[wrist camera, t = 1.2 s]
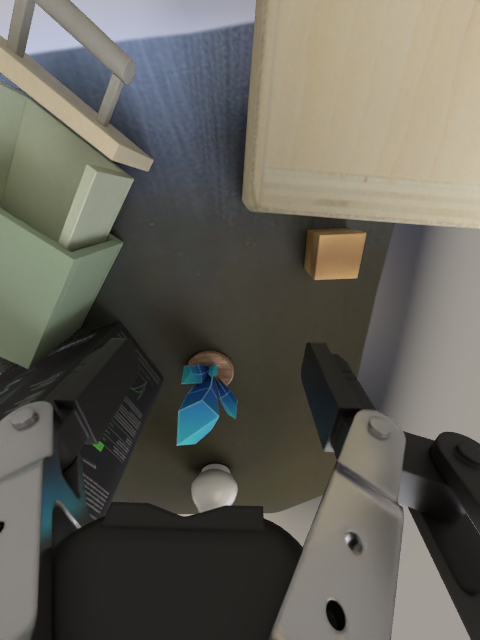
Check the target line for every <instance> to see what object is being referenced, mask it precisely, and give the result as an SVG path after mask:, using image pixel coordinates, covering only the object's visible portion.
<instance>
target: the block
mask: <svg viewBox="0 0 480 640" xmlns="http://www.w3.org/2000/svg"><path fill="white" fill-rule="evenodd" d="M365 238H366V233H365V232H361V231H357V230H353V229H349V228H336V229H315V230H308V231H307V242H306V252H305V263H304V269H305V270H306V271H307V272H308V273H309V274H310V276H311V277H312V278H313V279H314V280H324V279H348V278H357V276H358V271H359V267H360V262H361V257H362V252H363V248H364V243H365Z"/></svg>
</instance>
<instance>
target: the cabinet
mask: <svg viewBox="0 0 480 640" xmlns="http://www.w3.org/2000/svg"><path fill="white" fill-rule="evenodd" d="M122 245H123V242H122V241H121V240H119V239H118V238H116V237H115V236H113V235H112V234H110V233H109V235H108V237H107V239H106V241H105V242H104V243H100V244H97V245H93V246H90V247H87V248H83V249H80V250H76V251H73V252H70V251H69V250H67V249H65V248H64V247H62V246H61V245H59V244H58V243H56V242H54V241H53V240H51V239H50V238H48V237H46V236H45V235H43V234H42V233H40V232H38V231H37V230H35V229H34V228H32V227H30V226H29V225H27V224H26V223H24V222H23V221H21V220H19V219H18V218H16V217H15V216H13V215H11V214H10V213H8V212H7V211H5V210H3V209H2V208H0V357H2V358H4V359H7V360H9V361H11V362H13V363H15V364H18V365H20V366H22V367H24V368H26V369H29V368H31V367H32V366H33V365H34V364H36V363H37V362H38V361H39V360H41V359H42V358H43V357H44V356H46V355H47V354H48V353H50V352H51V351H52V350H53V349H55V348H56V347H57V346H59V345H60V344H61V343H62V342H64V341H65V340H66V339H67V338H69V337H70V336H71V335H73V334H74V333H75V332H76V331H78V330H79V329H80V328H81V326H82V324H83V322H84V320H85V318H86V316H87V314H88V312H89V310H90V309H91V307H92V305H93V303H94V301H95V299H96V297H97V295H98V293H99V291H100V289H101V287H102V285H103V283H104V281H105V279H106V277H107V275H108V273H109V271H110V269H111V267H112V265H113V263H114V261H115V259H116V257H117V255H118V253H119V251H120V249H121V247H122Z"/></svg>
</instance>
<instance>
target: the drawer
mask: <svg viewBox="0 0 480 640" xmlns="http://www.w3.org/2000/svg"><path fill="white" fill-rule="evenodd" d="M35 3H37V4H38V5H39V6H40V7H41V8H42V9H43V10H44V11H45V12H46V13H48V14H49V15H50V16H51V17H52V18H53V19H54V20H55V21H56V22H58V23H59V24H60V25H61V26H62V27H63V28H64V29H65V30H66V31H67V32H69V33H70V34H71V35H72V36H73V37H74V38H75V39H76V40H77V41H79V42H80V43H81V44H82V45H83V46H84V47H85V48H86V49H87V50H88V51H89V52H91V53H92V54H93V55H94V56H95V57H96V58H97V59H98V60H99V61H100V62H102V63H103V64H104V65H105V66H106V67H107V68H108V69H109V70H110V71H111V72H113V73H112V76H111V79H110V81H109V84H108V87H107V90H106V93H105V95H104V98H103V101H102V104H101V107H100V109H99V112H98V113H97V112H96V111H94V110H93V109H92V108H91V107H90V106H88V105H87V104H86V103H85V102H84V101H82V100H81V99H80V98H79V97H78V96H76V95H75V94H74V93H73V92H72V91H70V90H69V89H68V88H67V87H66V86H64V85H63V84H62V83H61V82H60V81H58V80H57V79H56V78H55V77H54V76H52V75H51V74H50V73H49V72H48V71H47V70H45V69H44V68H43V67H42V66H41V65H39V64H38V63H37V62H36V61H35V60H33V59H32V58H31V57H30V56H29V55H27V54H26V53H25V48H26V44H27V39H28V34H29V29H30V25H31V20H32V16H33V11H34V7H35ZM0 73H2V74H3V75H4V76H5V77H7V78H8V79H9V80H10V81H12V82H13V83H14V84H15V85H17V86H18V87H19V88H21V89H22V90H23V91H24V92H26V93H27V94H28V95H29V96H31V97H32V98H33V99H35V100H36V101H37V102H38V103H40V104H41V105H42V106H43V107H45V108H46V109H47V110H48V111H50V112H51V113H52V114H54V115H55V116H56V117H57V118H59V119H60V120H61V121H62V122H64V123H65V124H66V125H68V126H69V127H70V128H71V129H73V130H74V131H75V132H76V133H78V134H79V135H80V136H81V137H83V138H84V139H85V140H87V141H88V142H89V143H90V144H92V145H93V146H94V147H95V148H97V149H98V150H99V151H101V152H102V153H103V154H104V155H106V156H107V157H108V158H109V159H111V160H112V161H115V162H119V163H122V164H125V165H128V166H131V167H134V168H137V169H141V170H144V171H147V172H148V171H149V169H150V167H151V165H152V163H153V161H154V160H153V159H152V158H151V157H149V156H148V155H147V154H146V153H145V152H143V151H142V150H141V149H140V148H139V147H137V146H136V145H135V144H134V143H133V142H131V141H130V140H129V139H128V138H127V137H125V136H124V135H123V134H122V133H121V132H120V131H118V130H117V129H116V128H115V127H114V126H112V125H111V124H110V123H109V122H110V119H111V117H112V114H113V111H114V109H115V106H116V103H117V101H118V98H119V96H120V93H121V90H122V88H123V85H124V83H125V84H130V83H131V82H132V80H133V78H134V75H135V63H134V61H133V60H132V59H131V58H130V57H129V56H128V55H127V54H126V53H125V52H124V51H123V50H122V49H120V48H119V47H118V46H117V45H116V44H115V43H114V42H113V41H112V40H111V39H110V38H109V37H108V36H107V35H106V34H105V33H104V32H103V31H101V30H100V29H99V28H98V27H97V26H96V25H95V24H94V23H93V22H92V21H91V20H90V19H89V18H88V17H87V16H86V15H85V14H84V13H83V12H81V11H80V10H79V9H78V8H77V7H76V6H75V5H74V4H73V3H72V2H71V1H70V0H15V4H14V9H13V14H12V19H11V25H10V30H9V35H8V41H7V40H5V39H4V38H3V37H1V36H0ZM122 81H123V82H124V83H123V82H122ZM27 94H25V93H23V92H21V91H19V90H17V89H15V88H13V87H11V86H9V85H7V84H5V83H3V82H1V81H0V208H2V209H3V210H5V211H7V212H8V213H10V214H11V215H13V216H15V217H16V218H18V219H19V220H21V221H23V222H24V223H26V224H27V225H29V226H30V227H32V228H34V229H35V230H37V231H38V232H40V233H42V234H43V235H45V236H46V237H48V238H50V239H51V240H53V241H54V242H56V243H58V244H59V245H61V246H62V247H64V248H65V249H67V250H69V251H70V252H73V251H76V250H80V249H83V248H87V247H90V246H93V245H97V244H100V243H104V242H105V241H106V239H107V237H108V235H109V232H110V230H111V228H112V226H113V224H114V222H115V220H116V217H117V215H118V213H119V211H120V209H121V207H122V205H123V202H124V200H125V198H126V196H127V194H128V192H129V190H130V187H131V185H132V183H133V181H134V179H133V178H132V177H131V176H130V175H128V174H127V173H126V172H125V171H123V170H122V169H121V168H119V167H118V166H117V165H116V164H114V163H113V162H112V161H111V160H109V159H108V158H107V157H106V156H104V155H103V154H102V153H100V152H99V151H98V150H97V149H95V148H94V147H93V146H92V145H90V144H89V143H88V142H86V141H85V140H84V139H83V138H81V137H80V136H79V135H78V134H76V133H75V132H74V131H72V130H71V129H70V128H69V127H67V126H66V125H65V124H64V123H62V122H61V121H60V120H58V119H57V118H56V117H55V116H53V115H52V114H51V113H50V112H48V111H47V110H46V109H44V108H43V107H42V106H41V105H39V104H38V103H37V102H36V101H34V100H33V99H32V98H30V97H29V96H28V95H27Z"/></svg>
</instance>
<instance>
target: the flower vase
mask: <svg viewBox="0 0 480 640" xmlns="http://www.w3.org/2000/svg"><path fill="white" fill-rule="evenodd" d="M237 490H238V487H237V483H236V481H235V479H234V478H233V477H232V475H231V473H230V470H229V469H228V468H227V467H226V466H224V465H221V464H209V465H207V466H205V467H204V468H203V469H202V471H201V473H200V474H199V475H198V476H197V477H196V478H195V479H194V481H193V483H192V486H191V495H192V498H193V501H194V503H195V505H196V506H197V508H198V510H199V513H201V512H205V511H208V510H211V509H215V508H218V507H222V506H225V505H229V506H231V505H232V504H233V502H234V501H235V498H236V495H237Z"/></svg>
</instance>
